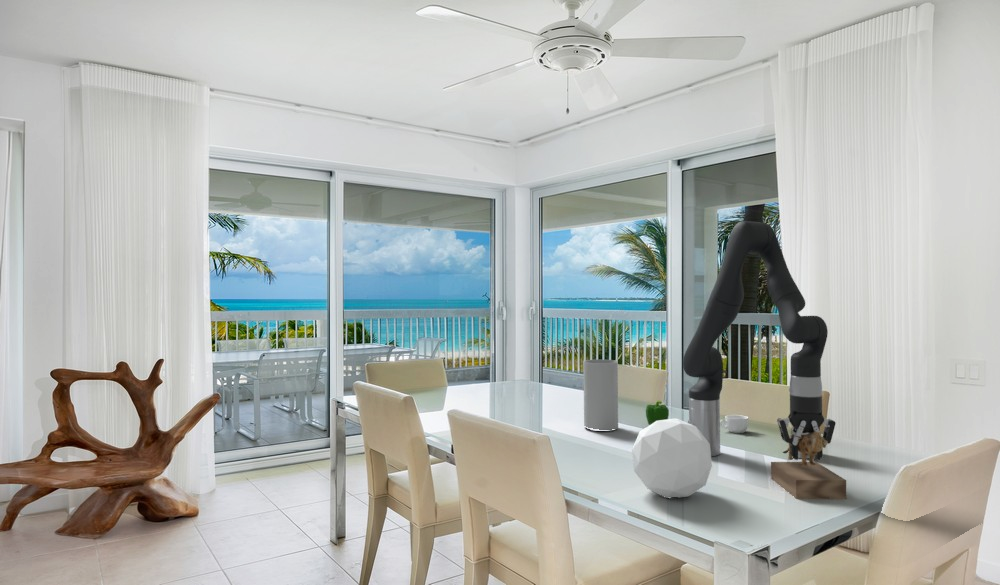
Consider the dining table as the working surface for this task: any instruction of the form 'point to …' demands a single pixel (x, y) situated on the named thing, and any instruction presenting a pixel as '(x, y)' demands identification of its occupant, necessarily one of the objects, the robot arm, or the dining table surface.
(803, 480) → the walnut block
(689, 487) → the ball
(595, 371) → the cylinder vase
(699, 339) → the robot arm
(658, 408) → the bell pepper
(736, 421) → the teacup
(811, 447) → the lion figurine
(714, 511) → the dining table surface
